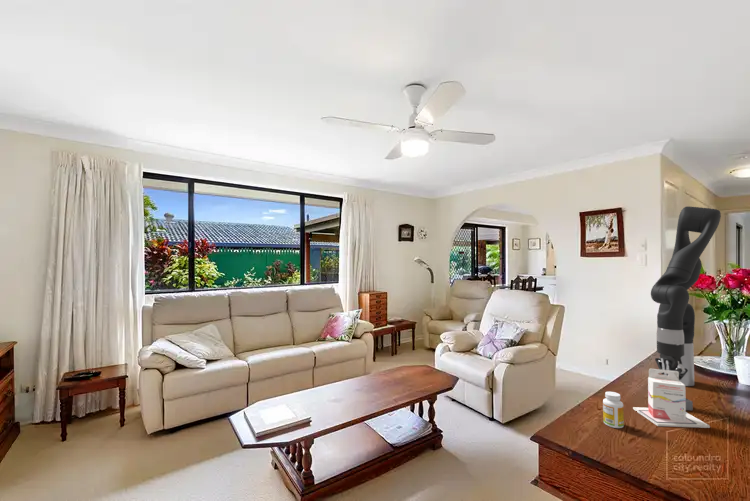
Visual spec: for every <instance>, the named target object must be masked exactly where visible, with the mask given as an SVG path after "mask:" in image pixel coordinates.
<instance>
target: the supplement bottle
mask: <svg viewBox="0 0 750 501" xmlns="http://www.w3.org/2000/svg"><path fill="white" fill-rule="evenodd" d="M604 397H605V398H603V400H602V416H603V419H602V420H603V424H605V425H606V426H608V427H610V428H615V429H622V428H624V427H625V426H624V425H625V421H624V420H625V417H624V416H625V414H624V412H625V411H624V403H623V402H622V401H621V394H620V393H618V392H615V391H605V393H604Z"/></svg>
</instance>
